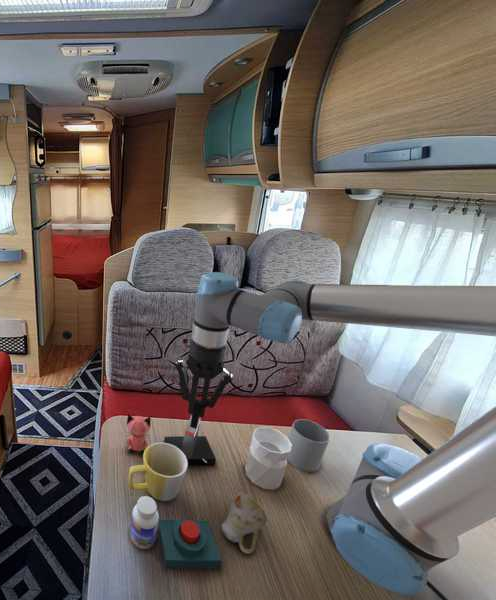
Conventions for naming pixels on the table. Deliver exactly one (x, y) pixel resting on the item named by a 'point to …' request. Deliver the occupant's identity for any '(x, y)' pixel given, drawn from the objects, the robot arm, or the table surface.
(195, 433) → the spout
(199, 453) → the plate
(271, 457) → the vase
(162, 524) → the switch
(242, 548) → the mug
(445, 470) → the robot arm
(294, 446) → the cup
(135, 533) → the pill bottle
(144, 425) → the pink cat figurine
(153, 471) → the mug
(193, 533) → the button
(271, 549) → the table surface
